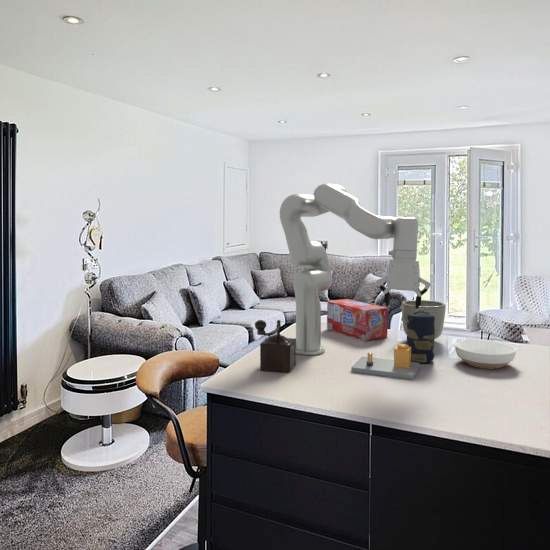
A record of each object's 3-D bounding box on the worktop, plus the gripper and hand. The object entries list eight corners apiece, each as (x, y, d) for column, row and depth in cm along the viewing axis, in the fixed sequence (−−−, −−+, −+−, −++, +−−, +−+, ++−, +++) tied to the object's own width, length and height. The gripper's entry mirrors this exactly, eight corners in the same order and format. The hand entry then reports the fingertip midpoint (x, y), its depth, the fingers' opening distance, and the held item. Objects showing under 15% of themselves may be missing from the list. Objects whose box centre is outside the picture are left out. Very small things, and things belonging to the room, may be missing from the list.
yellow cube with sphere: (393, 366, 160) (394, 346, 160) (396, 362, 165) (396, 342, 164) (408, 367, 158) (409, 347, 158) (410, 364, 163) (411, 344, 162)
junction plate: (351, 371, 160) (351, 367, 159) (361, 360, 172) (361, 356, 172) (413, 379, 151) (413, 374, 151) (419, 367, 164) (419, 362, 164)
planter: (409, 334, 211) (410, 298, 209) (449, 339, 201) (451, 302, 199) (394, 342, 197) (395, 304, 195) (436, 348, 187) (438, 308, 185)
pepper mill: (266, 362, 171) (265, 312, 169) (296, 364, 168) (296, 313, 166) (252, 375, 156) (252, 321, 154) (286, 378, 153) (285, 322, 151)
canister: (435, 365, 166) (437, 314, 164) (407, 363, 168) (408, 313, 166) (432, 357, 175) (433, 309, 173) (405, 356, 177) (406, 308, 175)
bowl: (514, 359, 172) (515, 343, 172) (516, 375, 155) (517, 357, 154) (456, 353, 180) (457, 337, 180) (451, 368, 163) (452, 350, 162)
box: (388, 338, 205) (389, 306, 204) (365, 342, 199) (366, 309, 197) (347, 326, 229) (348, 298, 227) (325, 329, 222) (326, 300, 220)
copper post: (365, 369, 162) (366, 353, 161) (367, 367, 164) (367, 352, 163) (372, 370, 161) (372, 354, 160) (373, 368, 163) (374, 352, 162)
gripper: (375, 254, 157) (373, 306, 160) (430, 257, 150) (427, 311, 153) (380, 253, 164) (378, 302, 166) (433, 255, 157) (430, 307, 159)
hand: (402, 306), depth 159 cm, fingers open, 9 cm apart
